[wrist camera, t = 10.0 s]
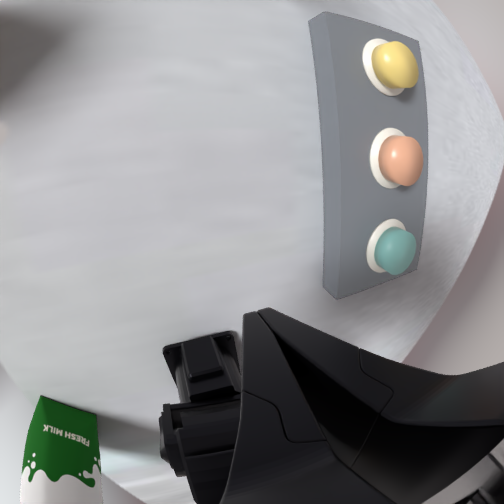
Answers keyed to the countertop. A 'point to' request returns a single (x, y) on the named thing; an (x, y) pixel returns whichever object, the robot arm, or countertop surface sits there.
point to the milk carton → (61, 457)
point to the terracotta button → (400, 160)
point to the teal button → (395, 250)
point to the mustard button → (395, 65)
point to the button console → (363, 150)
